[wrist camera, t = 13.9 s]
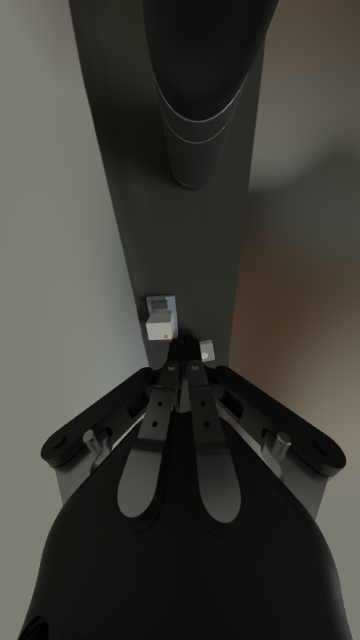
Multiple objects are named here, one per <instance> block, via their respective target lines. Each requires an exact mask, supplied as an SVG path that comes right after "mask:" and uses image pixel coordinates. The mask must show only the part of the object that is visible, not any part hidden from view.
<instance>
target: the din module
mask: <svg viewBox="0 0 360 640" xmlns="http://www.w3.org/2000/svg"><path fill="white" fill-rule="evenodd" d="M146 327H147V332H148V337H149V340H164V339H172V337H173V331H174V319H173V311H171V312H170V313H158V314H154V312H152V313H151V315H150V317H149V319H148V320H147V322H146Z"/></svg>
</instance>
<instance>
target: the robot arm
mask: <svg viewBox="0 0 360 640" xmlns="http://www.w3.org/2000/svg"><path fill="white" fill-rule="evenodd" d="M278 2H279V0H143V14H144V23H145V30H146V37H147V42H148V48H149V53H150V58H151V64H152V69H153V75H154V80H155V85H156V91H157V96H158V101H159V106H160V112H161V117H162V122H163V128H164V133H165V138H166V144H167V149H168V155H169V160H170V165H171V170H172V173H173V176H174V178H175V180H176V181H177V182H178V184H179V185H180V186H182V187H183V188H185V189H187V190H197V189H199V188H202V187H203V186H204V185H205V184H206V183H207V182H208V181H209V180H210V178H211V177H212V175H213V172H214V170H215V167H216V164H217V161H218V159H219V156H220V153H221V150H222V147H223V144H224V141H225V138H226V135H227V132H228V129H229V126H230V124H231V121H232V118H233V115H234V112H235V109H236V106H237V103H238V100H239V97H240V94H241V91H242V88H243V85H244V82H245V79H246V76H247V73H248V72H249V70H250V69H251V67H252V65H253V63H254V61H255V59H256V57H257V55H258V53H259V50H260V48H261V45H262V43H263V41H264V38H265V35H266V33H267V30H268V28H269V25H270V22H271V20H272V17H273V15H274V12H275V9H276V7H277V4H278ZM185 374H186V380H188V391H189V401H190V411H189V412H185V413H180V403H181V395H182V384H183V380H185ZM215 401H216V402H217V403H218V404H219V405H220V406H221V407H222V408H223V409H224V410H225V411H226V412H227V413H228V414H229V415H230V416H231V417H232V418H233V419H234V420H235V421H236V422H237V423H238V424H239V425H240V426H241V427H242V428H243V429H244V430H245V431H246V432H247V433H248V434H249V435H250V436H251V437H252V438H253V439H254V440H255V441H256V442H257V443H258V444H259V445H260V446H261V453H262V456H263V458H264V460H265V461H266V463H267V464H268V465H269V467H270V468H271V469H272V470H271V469H270V468H269V467H268V466H267V465H266V463H265V462H264V461H263V460H262V459H261V458H260V457H259V456H258V455H257V453H256V452H255V451H254V450H253V449H252V448H251V447H250V446H249V445H248V443H247V442H246V441H245V440H244V439H243V438H242V437H241V436H240V435H239V433H238V432H237V431H236V430H235V429H234V428H233V427H232V426H231V425H230V424H229V423H228V422H227V421H225V420H224V419H223V418H221V417H219V415H218V411H217V407H216V404H215ZM144 413H145V416H144V418H143V419H142V420H141V421H139V422H138V423H137V424H136V425H135V426H134V427H133V428H132V429H131V431H130V432H129V433H128V434H127V435H126V436H125V437H124V438H123V439H122V440H121V441H120V443H119V444H118V445H117V446H116V447H115V448H114V449H113V450H112V446H113V444H114V443H115V442H116V441H117V440H118V439H119V438H120V437H121V436H122V435H123V434H124V433H125V432H126V431H127V430H128V429H129V428H130V427H131V426H132V425H133V424H134V423H135V422H136V421H137V420H138V419H139V418H140V417H141V416H142V415H143V414H144ZM41 457H42V458H43V459H44V460H45V461H46V462H47V463H49V466H50V467H51V468H53V469H54V470H55V471H56V476H57V480H58V485H59V489H60V493H61V498H62V502H63V507H62V509H61V510H60V512H59V514H58V515H57V517H56V519H55V521H54V523H53V525H52V527H51V529H50V532H49V534H48V537H47V540H46V543H45V546H44V549H43V554H42V558H41V563H40V568H39V573H38V577H37V582H36V586H35V589H34V593H33V596H32V599H31V603H30V606H29V609H28V612H27V615H26V618H25V621H24V624H23V627H22V629H21V632H20V635H19V637H18V639H17V640H353V639H352V636H351V633H350V629H349V625H348V621H347V617H346V613H345V608H344V604H343V598H342V593H341V586H340V581H339V576H338V573H337V569H336V566H335V562H334V559H333V557H332V554H331V552H330V549H329V547H328V545H327V542H326V540H325V538H324V536H323V534H322V532H321V531H320V529H319V527H318V526H317V524H316V522H315V519H316V516H317V513H318V509H319V506H320V503H321V500H322V497H323V493H324V490H325V487H326V483H327V482H328V481H329V480H330V479H332V478H333V477H334V476H335V475H336V474H337V473H338V472H339V471H340V470H341V469H343V468H344V467H345V465H346V457H345V455H344V453H343V451H342V450H341V448H340V447H339V446H338V444H337V443H336V442H335V441H334V440H332V439H331V438H330V437H329V436H327V435H326V434H324V433H323V432H321V431H320V430H319V429H317V428H316V427H314V426H312V425H311V424H310V423H308V422H307V421H306V420H304V419H303V418H301V417H300V416H298V415H297V414H295V413H294V412H292V411H291V410H290V409H288V408H287V407H285V406H284V405H282V404H281V403H279V402H278V401H276V400H275V399H274V398H272V397H271V396H269V395H268V394H266V393H265V392H263V391H262V390H260V389H259V388H257V387H256V386H255V385H253V384H252V383H250V382H249V381H247V380H246V379H244V378H243V377H242V376H240V375H239V374H237V373H235V372H234V371H232V370H231V369H230V368H228V367H226V366H217V367H216V368H215V369H213V368H209V367H207V366H205V365H204V364H203V361H202V355H201V348H200V343H199V342H198V340H192V335H189V336H185V337H184V336H177V341H172V342H171V343H170V346H169V351H168V357H167V362H166V363H165V364H164V365H163V367H162V368H160V369H158V370H154V371H153V369H152V368H150V367H145V368H142V369H140V370H139V371H137V372H136V373H135V374H133V375H132V376H131V377H129V378H128V379H126V380H125V381H124V382H122V383H121V384H120V385H118V386H117V387H116V388H114V389H113V390H112V391H110V392H109V393H108V394H106V395H105V396H103V397H102V398H101V399H99V400H98V401H97V402H95V403H94V404H93V405H91V406H90V407H89V408H87V409H86V410H85V411H83V412H82V413H81V414H79V415H78V416H76V417H75V418H74V419H72V420H71V421H70V422H68V423H67V424H66V425H64V426H63V427H62V428H60V429H59V430H58V431H56V432H55V433H54V434H52V435H51V436H50V437H49V439H48V440H47V441H46V442H45V444H44V445H43V447H42V450H41Z"/></svg>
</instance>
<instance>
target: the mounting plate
mask: <svg viewBox="0 0 360 640" xmlns="http://www.w3.org/2000/svg"><path fill="white" fill-rule="evenodd" d="M154 298H166V299H167V300H168V313H170V312H171V311H173V319H174V331H173V337H172V338H177V336H178V325H177V315H176V304H175V295H164V296H148V297H147V298H146V299H147V305H148V310H149V315H151V313H152V312H154V314H156V313H155V309H152V308H151V301H153V299H154Z"/></svg>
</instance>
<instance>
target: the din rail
mask: <svg viewBox="0 0 360 640" xmlns="http://www.w3.org/2000/svg"><path fill="white" fill-rule="evenodd" d="M151 308H152V309H155V313H156V314H158V313H168V300H167V299H166V298H154V299H153V301H151ZM157 341H158V342H172V339H164V340H157Z"/></svg>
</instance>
